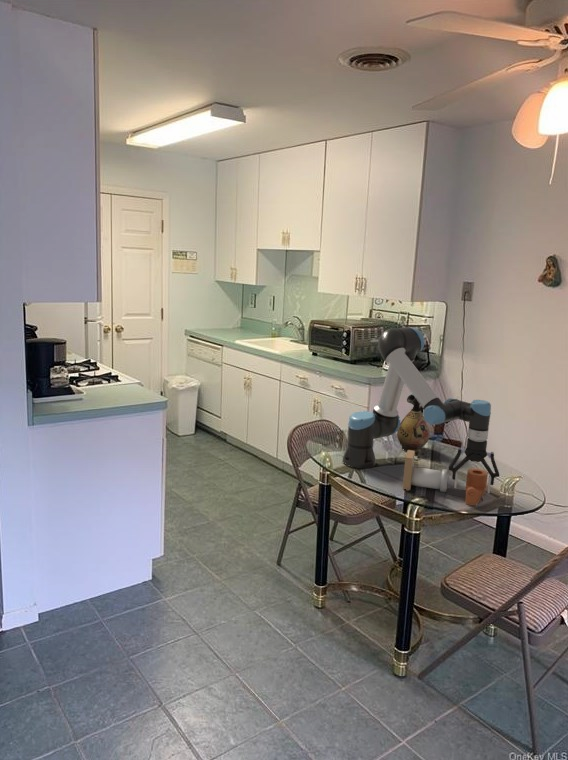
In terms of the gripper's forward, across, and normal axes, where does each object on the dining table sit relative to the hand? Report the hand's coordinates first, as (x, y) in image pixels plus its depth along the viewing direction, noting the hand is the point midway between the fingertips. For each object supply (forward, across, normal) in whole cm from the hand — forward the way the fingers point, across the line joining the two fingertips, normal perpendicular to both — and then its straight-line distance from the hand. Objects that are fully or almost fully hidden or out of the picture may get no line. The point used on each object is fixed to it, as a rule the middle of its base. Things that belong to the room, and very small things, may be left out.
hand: (471, 489), depth 234 cm
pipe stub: (+2, -18, 0) cm, 19 cm away
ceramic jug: (+3, -28, +49) cm, 56 cm away
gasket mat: (+2, -2, 0) cm, 3 cm away
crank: (-2, -2, -1) cm, 3 cm away
